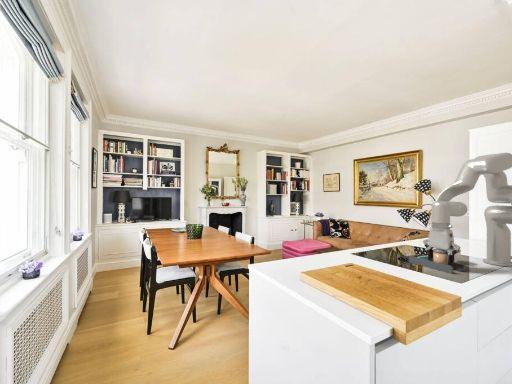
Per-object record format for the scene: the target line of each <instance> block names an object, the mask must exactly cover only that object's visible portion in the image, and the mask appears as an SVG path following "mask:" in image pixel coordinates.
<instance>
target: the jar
mask: <svg viewBox="0 0 512 384" xmlns="http://www.w3.org/2000/svg"><path fill="white" fill-rule="evenodd" d="M432 250H433V261H434V262H438V263H442V264H446V265H448V251H447V250H443V249H436V248H433V249H432Z"/></svg>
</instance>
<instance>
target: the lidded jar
mask: <svg viewBox="0 0 512 384" xmlns="http://www.w3.org/2000/svg"><path fill="white" fill-rule="evenodd" d="M435 249H437V248H435ZM453 250H455V247H454V249H453ZM461 251H462V250H461V249H460V250H459V251H458V252H457V253H456V254H455V255H454V262H456V263H458V262H459V261H460V258H461ZM448 255H449V253H448Z"/></svg>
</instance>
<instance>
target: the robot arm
mask: <svg viewBox="0 0 512 384" xmlns="http://www.w3.org/2000/svg"><path fill="white" fill-rule="evenodd" d="M511 168H512V153H510V152H500V153H492V154H483V155H479V156H477V157H475V158H471V159H468V160H466V161H465V162H464V163H463V164H462V166H461V168H460V170H459V171H458V174H457V176H456V178H455V180H454V182H453V183H452V184H450V185H449V186H448V187H446V188H444V190H442V191H441V192H439V194H438V196H437V198H436V199H435V201H434V202H432V203H431V227H430V229H429V232H428V238H427V239H424V240H423V241H422V243H423V245H424V247H425V248H426V251H427V256H428V258H433V249H436V248H437V249H443V250H447V251H448V253H449V255H448V262H449V263H453V262H454V255H455V254H456V253H457V252H458V251H459V250H461V246H460V245H458V243H457V244H456V243H455V238H454V233H453V230H452V229H453V225H451V217H457V218H458V217H462V216H465V215H466V214H467V213H468V207H467V205H466V204H465V203H464V202H461V201H451V200H452V199H454V198H455V197H457V196H459V195H460V196H461V195H463V194H466V193H468V192H471V191H473V190H474V189H475V187H476V184H477V182H478V180H479V178H480V176H482V175H483V177H484V179H485V191H486V198H487V200H488V201H489V202H490V203H494V204H496V205H490V206H487V207H485V209H484V213H483V216H484V219H485V220H484V221H485V223H486V258H483V259H482V262H483V263H486V264H489V265H492V266H500V267H508V268H509V267H512V232H511V230H510V228H509V226H508V225H512V184H511V185H509V184H508V177H507V174H506V173H505V171H508V170H509V169H511ZM497 204H498V205H497ZM499 204H510V205H499ZM454 248H455V250H453V249H454Z"/></svg>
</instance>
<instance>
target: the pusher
mask: <svg viewBox="0 0 512 384" xmlns="http://www.w3.org/2000/svg"><path fill="white" fill-rule="evenodd" d="M417 258H421V259H425V260H429V258H428V255H425V256H420V257H417Z"/></svg>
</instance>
